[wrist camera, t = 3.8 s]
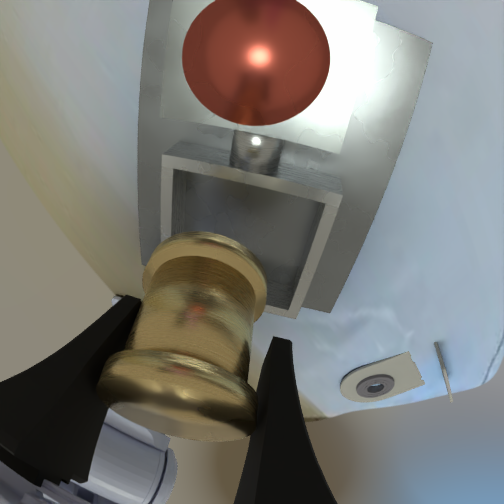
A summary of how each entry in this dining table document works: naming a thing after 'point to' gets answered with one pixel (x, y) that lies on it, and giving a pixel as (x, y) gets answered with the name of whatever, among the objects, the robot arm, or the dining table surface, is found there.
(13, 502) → the robot arm
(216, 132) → the valve base
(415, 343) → the dining table surface
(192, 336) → the brass spool
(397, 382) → the bracket
